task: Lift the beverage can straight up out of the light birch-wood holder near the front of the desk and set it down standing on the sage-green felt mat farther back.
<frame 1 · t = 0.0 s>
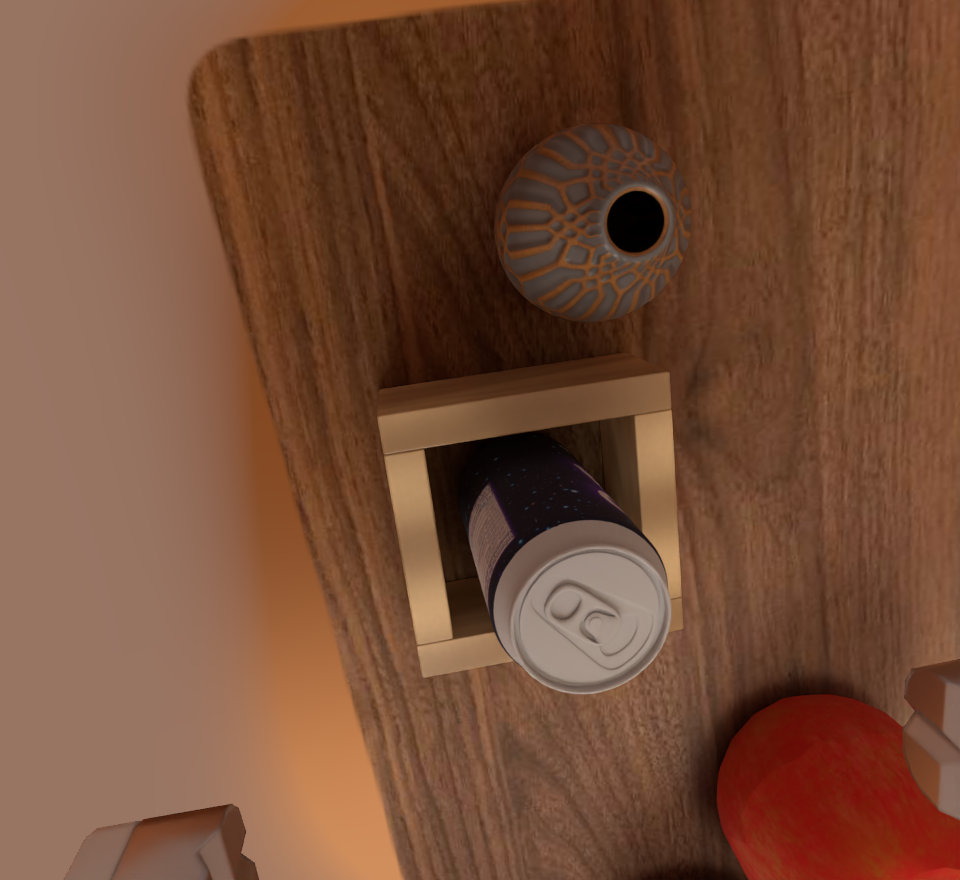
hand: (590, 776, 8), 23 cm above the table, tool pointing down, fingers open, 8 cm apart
beverage can: (517, 487, 32), resting in holder
holder: (518, 488, 32), on the table
apple: (788, 756, 38), on the table
vase: (564, 229, 30), on the table
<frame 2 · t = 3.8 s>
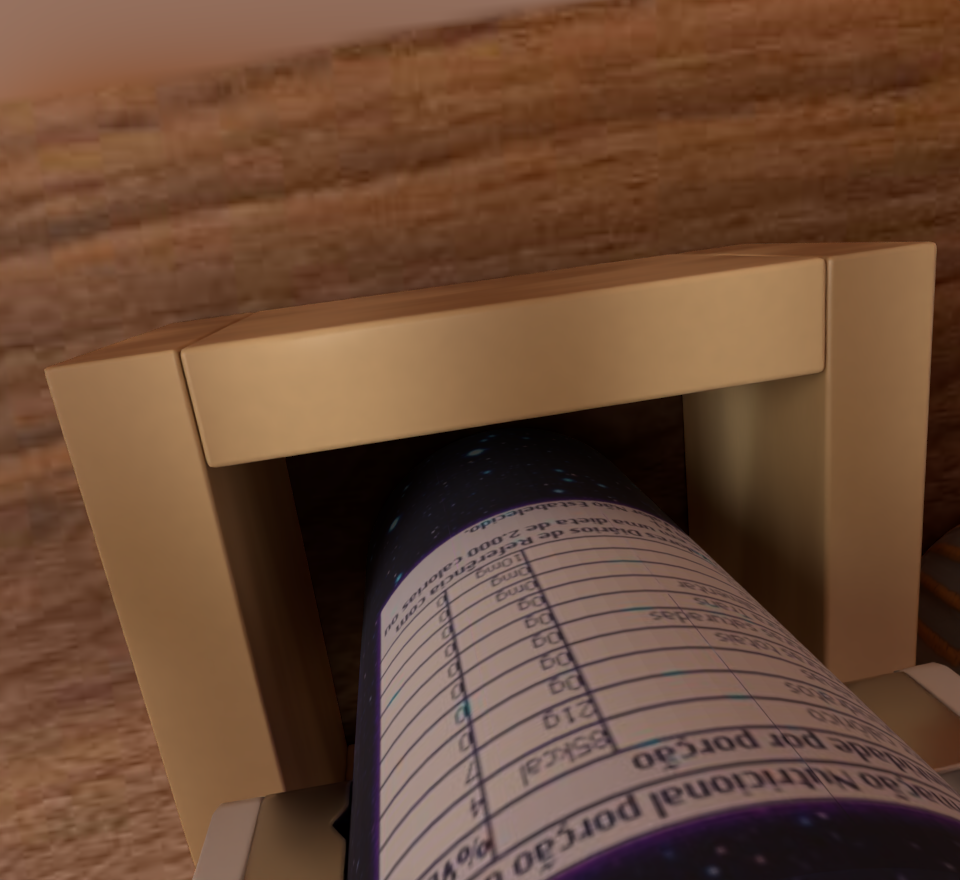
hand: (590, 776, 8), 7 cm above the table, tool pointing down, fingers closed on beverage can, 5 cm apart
beverage can: (502, 544, 15), resting in holder, touching gripper
holder: (503, 547, 15), on the table
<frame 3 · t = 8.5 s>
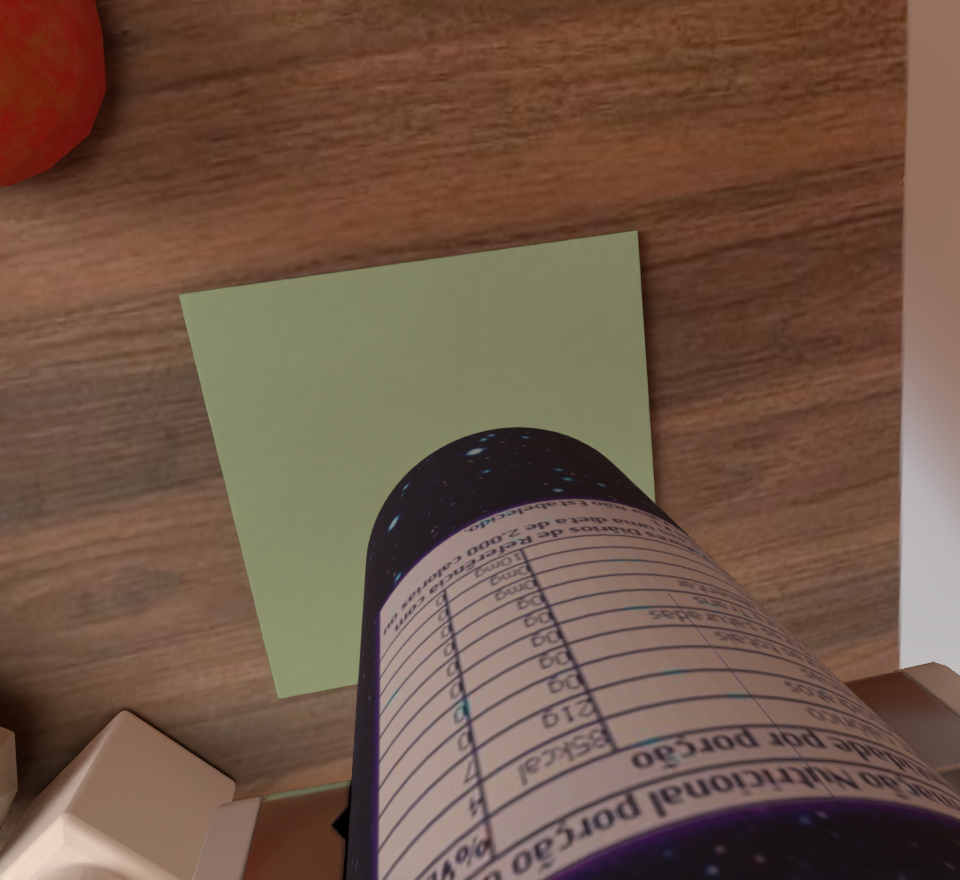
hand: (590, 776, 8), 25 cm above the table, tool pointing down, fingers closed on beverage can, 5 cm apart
beverage can: (502, 543, 15), point 18 cm above the table, touching gripper
mat: (446, 475, 34), on the table
medicine bottle: (139, 787, 36), on the table
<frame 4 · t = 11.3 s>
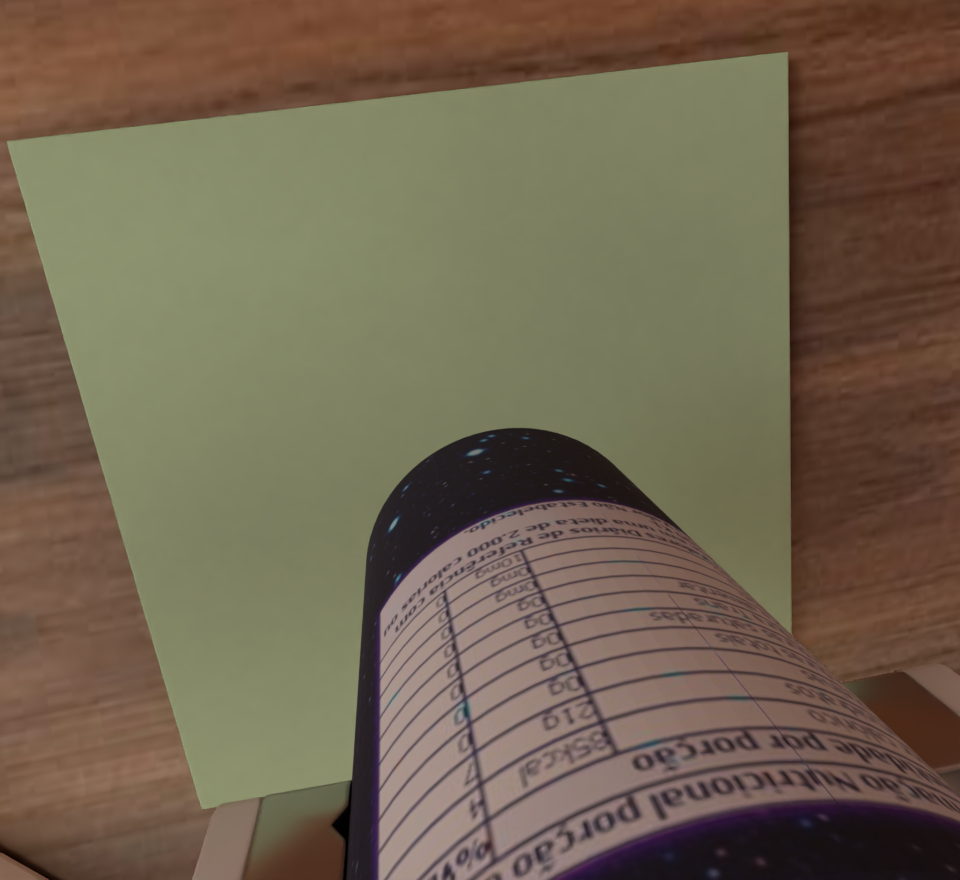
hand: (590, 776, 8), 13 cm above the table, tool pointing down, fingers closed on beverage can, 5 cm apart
beverage can: (502, 544, 15), point 6 cm above the table, touching gripper
mat: (466, 460, 21), on the table
when the fingers open (7 cm above the table, at t = 13.3 s): beverage can stays where it is, resting on mat.
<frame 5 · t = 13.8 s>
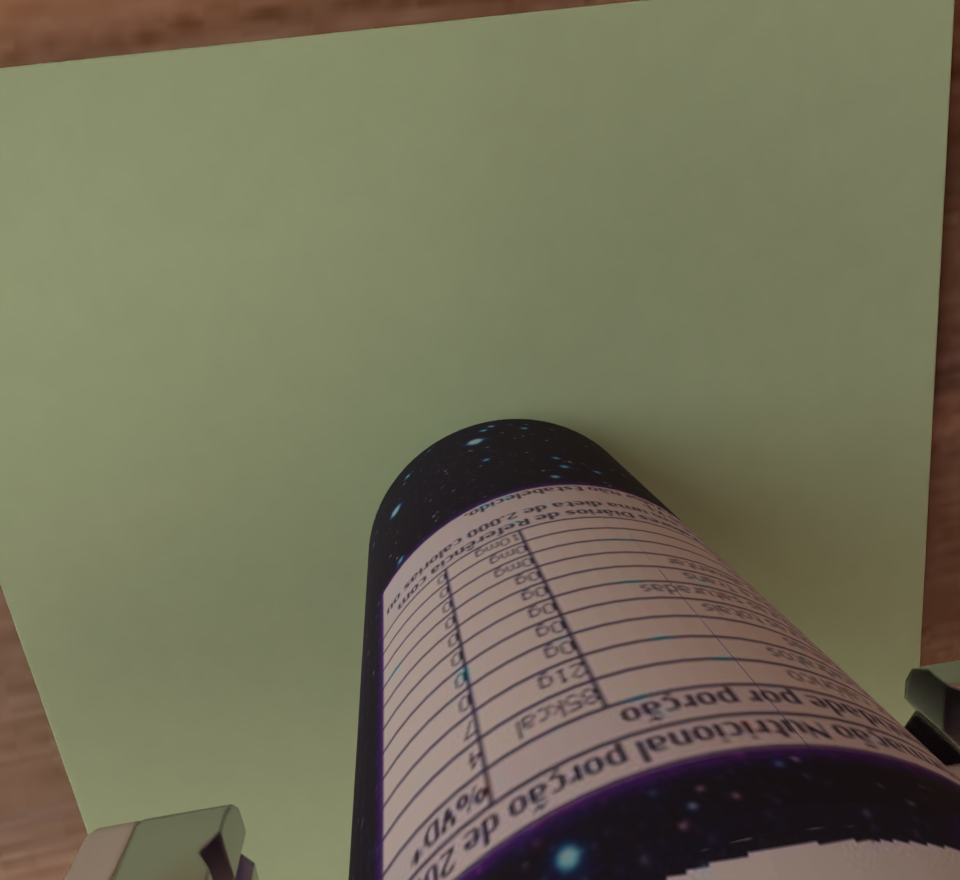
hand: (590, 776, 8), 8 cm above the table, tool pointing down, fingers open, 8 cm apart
beverage can: (501, 533, 15), resting on mat
mat: (495, 532, 16), on the table
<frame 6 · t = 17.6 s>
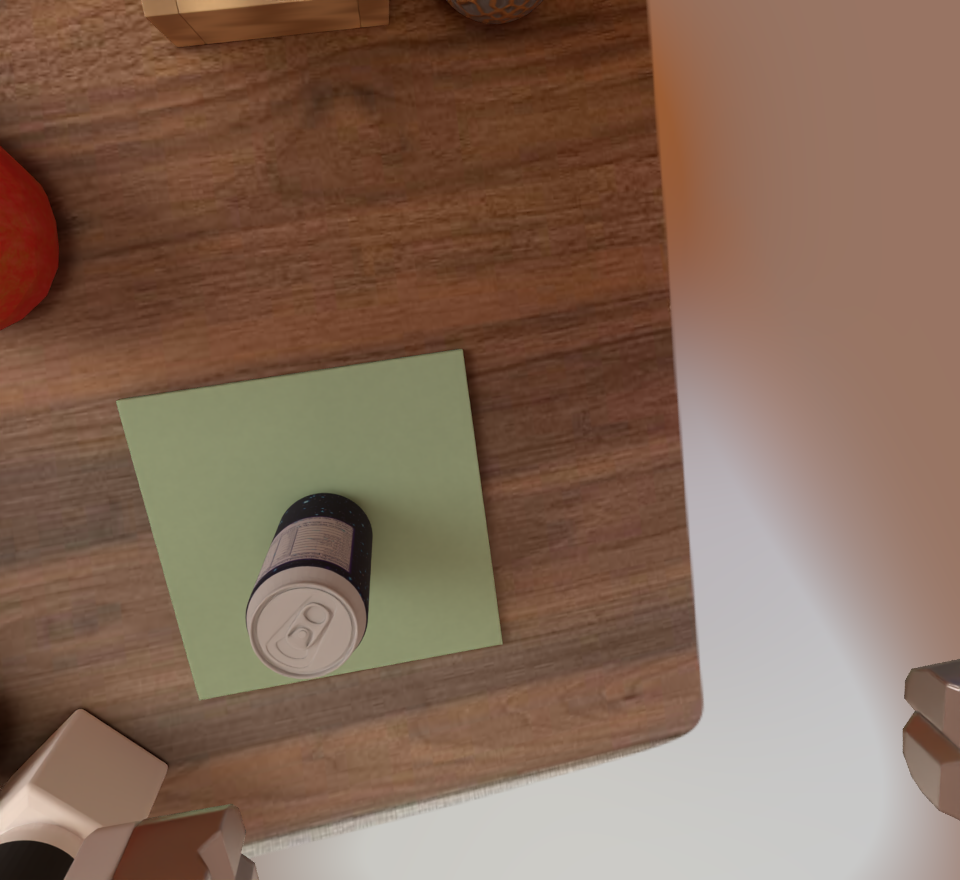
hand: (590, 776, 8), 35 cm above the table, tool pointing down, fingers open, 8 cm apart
beverage can: (326, 530, 44), resting on mat
mat: (325, 529, 44), on the table
medicine bottle: (93, 768, 47), on the table
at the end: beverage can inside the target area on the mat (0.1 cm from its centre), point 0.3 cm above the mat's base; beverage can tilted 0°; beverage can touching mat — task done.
